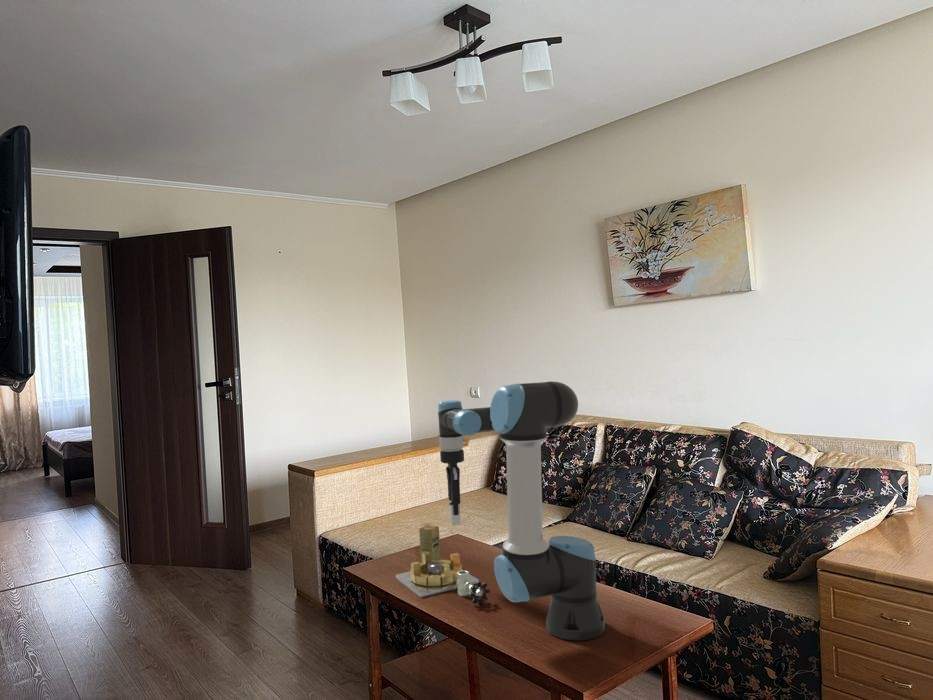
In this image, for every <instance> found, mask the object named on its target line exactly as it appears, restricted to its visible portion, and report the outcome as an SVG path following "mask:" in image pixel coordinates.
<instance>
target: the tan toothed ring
mask: <svg viewBox="0 0 933 700" xmlns="http://www.w3.org/2000/svg"><path fill="white" fill-rule="evenodd" d="M449 556H450V560H448V559H440V560H432V561H431V553H429V552H428V551H427V552H422V562H421V561H420V562H419V561H415V562H414V561H413V562H410V570H409V572H410V580H411V581H412V582H414V583H415V584H419V585H424V586H441V585H446V584H450V583H454V582H456V581H457V579H458V578H457V572H459V571H462V570H463V567H462V566H463V565H462V564H461V559H460V558H461V556H460V553H458V552H454V553H450V555H449ZM433 562H441V563H443V564H441V575H426V574H422V573H424V572H427V571H428V564H430V563H433ZM450 571H451V572H450Z"/></svg>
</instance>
